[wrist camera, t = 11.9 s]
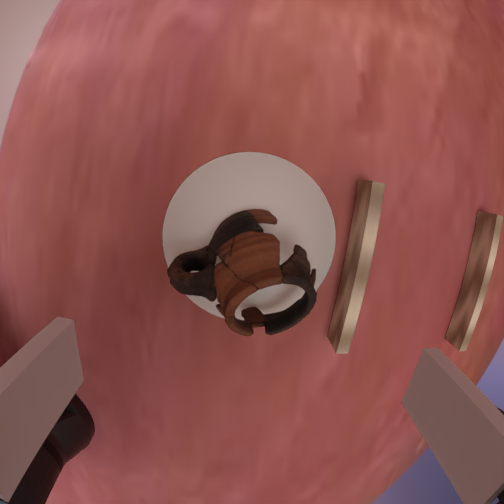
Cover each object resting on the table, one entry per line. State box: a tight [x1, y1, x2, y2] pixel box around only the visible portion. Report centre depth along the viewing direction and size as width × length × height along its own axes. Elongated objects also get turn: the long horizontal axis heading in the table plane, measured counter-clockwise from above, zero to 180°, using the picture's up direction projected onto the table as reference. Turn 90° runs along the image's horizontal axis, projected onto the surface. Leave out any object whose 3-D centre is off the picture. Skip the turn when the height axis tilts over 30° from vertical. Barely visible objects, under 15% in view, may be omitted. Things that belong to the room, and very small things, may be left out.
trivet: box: [163, 152, 336, 320], centre depth 28 cm, size 16×16×1 cm
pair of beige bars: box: [328, 180, 503, 354], centre depth 28 cm, size 16×17×4 cm
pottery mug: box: [167, 209, 317, 336], centre depth 26 cm, size 12×9×8 cm
